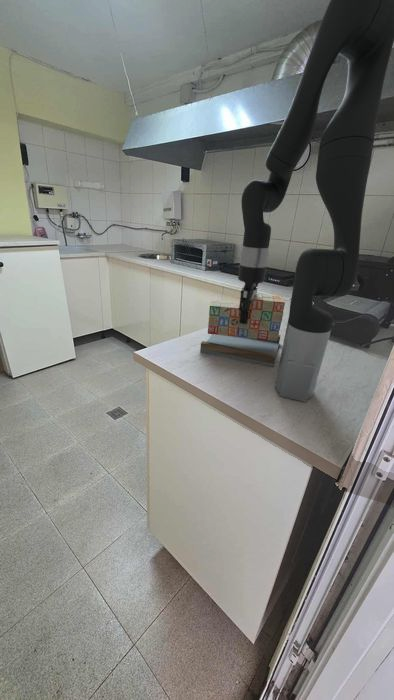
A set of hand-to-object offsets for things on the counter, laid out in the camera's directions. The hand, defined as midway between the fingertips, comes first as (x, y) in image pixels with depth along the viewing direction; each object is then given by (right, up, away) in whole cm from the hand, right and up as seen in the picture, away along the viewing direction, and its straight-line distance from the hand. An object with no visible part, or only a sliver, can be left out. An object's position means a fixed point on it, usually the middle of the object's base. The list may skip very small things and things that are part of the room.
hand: (245, 319), depth 87 cm
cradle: (-1, -9, +4) cm, 10 cm away
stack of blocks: (-1, -5, +2) cm, 5 cm away
